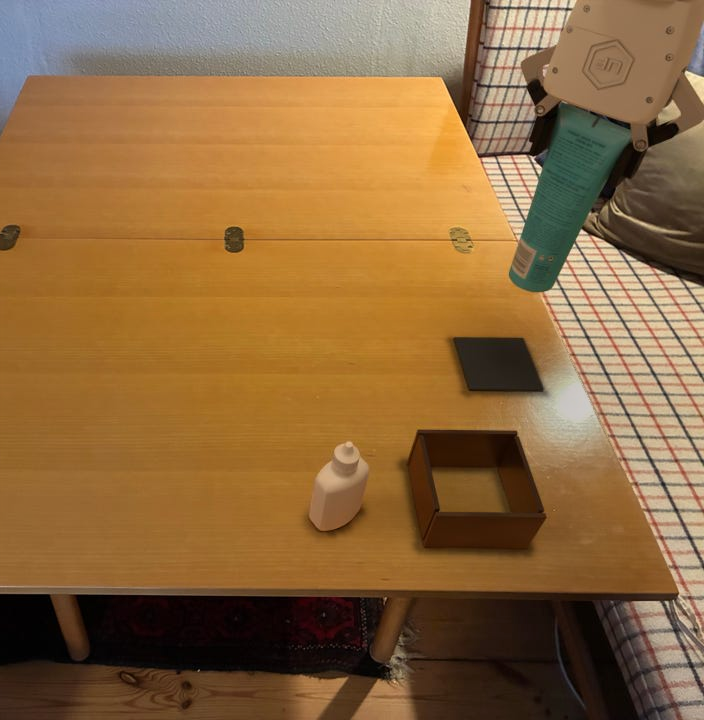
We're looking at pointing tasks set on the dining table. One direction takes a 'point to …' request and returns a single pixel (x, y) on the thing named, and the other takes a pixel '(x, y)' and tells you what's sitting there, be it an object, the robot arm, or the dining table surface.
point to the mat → (497, 364)
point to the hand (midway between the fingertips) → (577, 164)
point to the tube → (565, 194)
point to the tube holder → (475, 526)
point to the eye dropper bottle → (339, 488)
